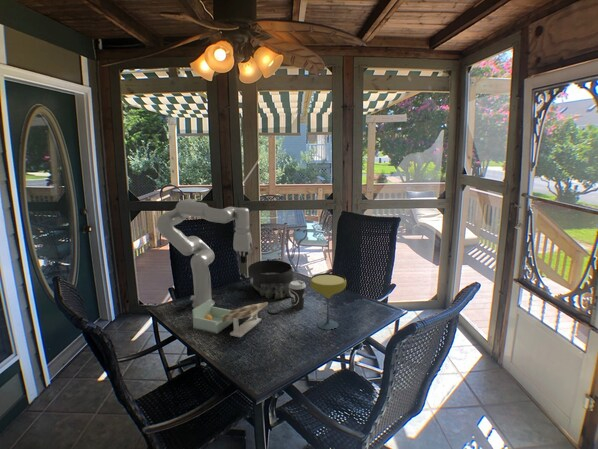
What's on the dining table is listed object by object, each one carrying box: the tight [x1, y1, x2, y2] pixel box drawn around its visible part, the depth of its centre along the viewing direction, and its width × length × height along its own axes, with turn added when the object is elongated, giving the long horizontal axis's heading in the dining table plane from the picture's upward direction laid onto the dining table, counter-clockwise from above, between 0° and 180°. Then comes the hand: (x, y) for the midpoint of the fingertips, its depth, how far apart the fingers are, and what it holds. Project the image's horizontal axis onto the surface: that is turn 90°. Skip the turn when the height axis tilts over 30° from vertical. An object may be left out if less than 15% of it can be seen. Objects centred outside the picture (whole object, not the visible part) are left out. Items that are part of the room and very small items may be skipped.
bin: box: [191, 299, 233, 334], centre depth 195 cm, size 15×15×10 cm
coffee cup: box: [289, 280, 307, 311], centre depth 214 cm, size 10×10×15 cm
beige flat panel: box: [222, 301, 269, 322], centre depth 191 cm, size 18×16×3 cm
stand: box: [229, 304, 262, 338], centre depth 192 cm, size 6×20×9 cm, turn 155°
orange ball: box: [204, 315, 212, 320], centre depth 197 cm, size 4×4×4 cm
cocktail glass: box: [309, 272, 347, 331], centre depth 192 cm, size 18×18×25 cm
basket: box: [247, 259, 294, 300], centre depth 240 cm, size 28×35×16 cm
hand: (243, 262), depth 212 cm, fingers closed
